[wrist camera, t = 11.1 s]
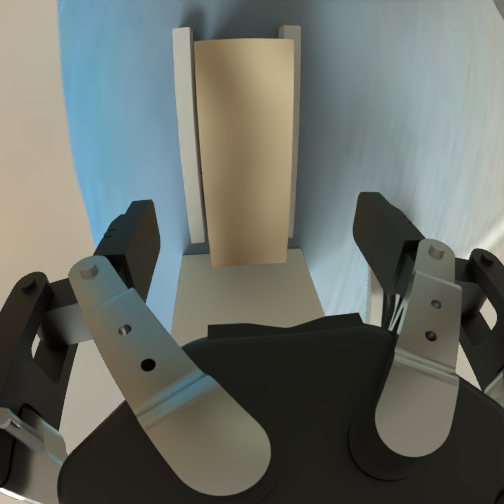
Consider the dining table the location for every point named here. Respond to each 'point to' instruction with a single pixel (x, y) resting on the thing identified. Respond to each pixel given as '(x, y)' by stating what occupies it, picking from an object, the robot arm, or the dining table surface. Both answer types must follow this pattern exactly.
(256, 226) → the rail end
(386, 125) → the dining table surface
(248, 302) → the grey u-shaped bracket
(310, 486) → the robot arm
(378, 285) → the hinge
